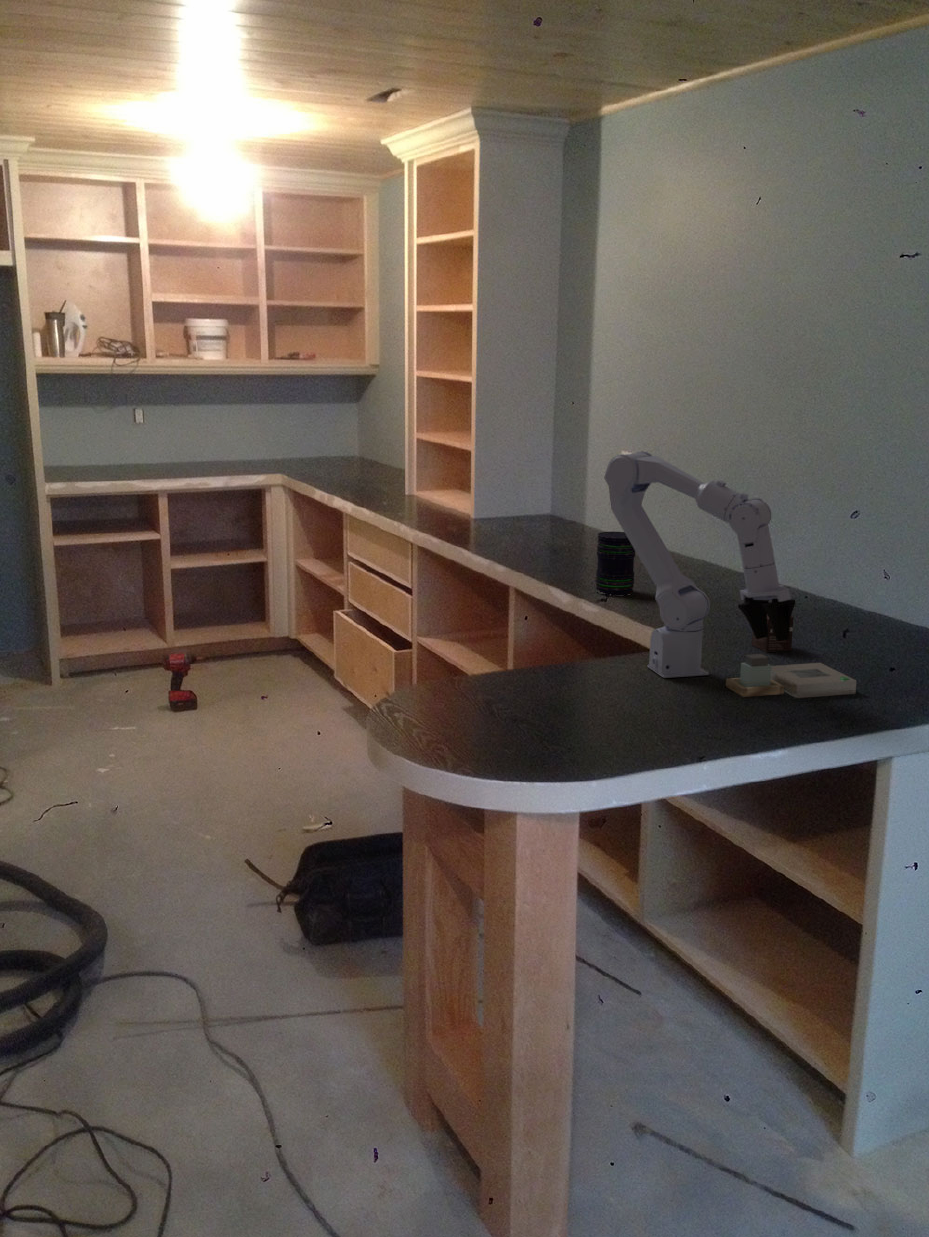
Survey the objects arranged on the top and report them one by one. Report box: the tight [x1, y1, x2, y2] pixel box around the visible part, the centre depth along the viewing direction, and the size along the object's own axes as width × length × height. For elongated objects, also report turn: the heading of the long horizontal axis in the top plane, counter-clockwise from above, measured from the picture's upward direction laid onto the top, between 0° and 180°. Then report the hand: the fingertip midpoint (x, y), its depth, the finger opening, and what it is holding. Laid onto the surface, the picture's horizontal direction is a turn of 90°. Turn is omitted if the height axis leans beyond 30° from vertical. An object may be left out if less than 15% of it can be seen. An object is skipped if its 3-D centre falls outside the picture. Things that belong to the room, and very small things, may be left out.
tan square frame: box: [725, 677, 785, 698], centre depth 202 cm, size 8×7×2 cm
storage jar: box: [595, 531, 636, 595], centre depth 281 cm, size 10×10×15 cm
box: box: [751, 615, 794, 653], centre depth 231 cm, size 6×6×7 cm
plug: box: [739, 653, 773, 687], centre depth 202 cm, size 4×3×6 cm, turn 104°
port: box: [771, 662, 857, 699], centre depth 205 cm, size 12×12×3 cm
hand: (772, 638), depth 202 cm, fingers open, 7 cm apart
